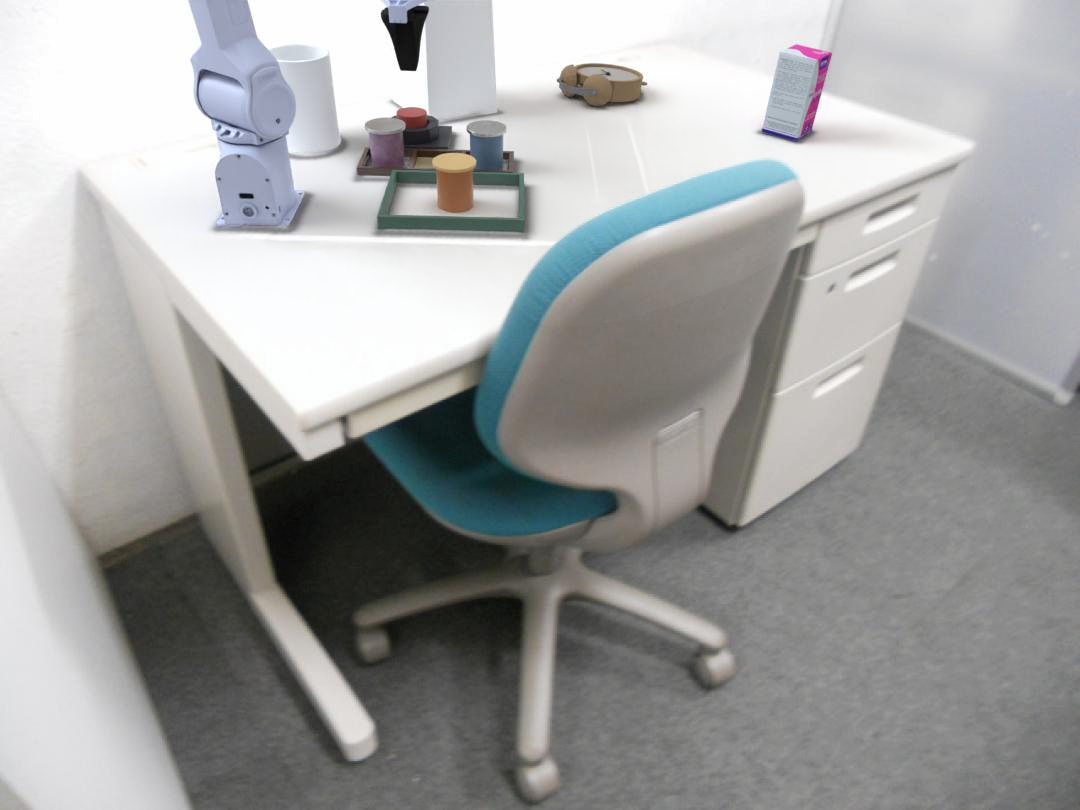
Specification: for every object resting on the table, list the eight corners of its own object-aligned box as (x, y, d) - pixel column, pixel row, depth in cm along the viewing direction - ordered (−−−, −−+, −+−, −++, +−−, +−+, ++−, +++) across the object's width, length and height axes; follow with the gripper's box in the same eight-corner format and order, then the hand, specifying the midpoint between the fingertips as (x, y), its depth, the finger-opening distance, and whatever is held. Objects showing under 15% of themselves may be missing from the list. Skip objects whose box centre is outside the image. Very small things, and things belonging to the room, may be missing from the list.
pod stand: (513, 183, 104) (513, 171, 103) (357, 179, 103) (356, 167, 102) (513, 162, 109) (513, 151, 108) (366, 158, 108) (364, 147, 107)
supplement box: (797, 142, 118) (817, 59, 111) (760, 132, 121) (776, 50, 114) (813, 132, 122) (833, 50, 115) (776, 122, 125) (793, 42, 117)
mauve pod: (405, 174, 104) (402, 132, 100) (366, 173, 103) (361, 130, 100) (410, 159, 108) (407, 117, 104) (371, 158, 107) (367, 116, 104)
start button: (428, 120, 112) (428, 107, 111) (425, 130, 109) (425, 117, 108) (399, 119, 112) (398, 106, 111) (395, 129, 109) (394, 116, 108)
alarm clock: (658, 77, 131) (595, 76, 121) (651, 109, 133) (589, 111, 123) (607, 60, 137) (543, 59, 127) (601, 91, 140) (538, 92, 130)
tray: (523, 236, 92) (524, 220, 91) (378, 233, 92) (377, 216, 90) (523, 188, 102) (524, 172, 101) (393, 184, 102) (392, 169, 101)
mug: (252, 137, 113) (235, 45, 105) (307, 123, 118) (294, 34, 110) (299, 162, 106) (284, 66, 99) (354, 147, 111) (344, 54, 104)
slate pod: (505, 176, 104) (506, 134, 101) (466, 175, 104) (465, 133, 101) (506, 161, 108) (506, 120, 105) (468, 160, 108) (467, 119, 104)
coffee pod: (475, 215, 95) (475, 170, 92) (432, 214, 95) (430, 169, 91) (477, 196, 99) (477, 153, 95) (436, 195, 99) (434, 152, 95)
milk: (392, 101, 126) (377, -95, 110) (458, 90, 132) (453, -99, 116) (429, 125, 119) (418, -82, 103) (497, 112, 124) (497, -87, 108)
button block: (452, 135, 116) (451, 112, 114) (448, 157, 110) (447, 133, 108) (381, 133, 115) (379, 110, 113) (372, 155, 109) (370, 131, 107)
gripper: (429, -36, 92) (435, 87, 101) (440, -59, 104) (444, 54, 112) (366, -39, 92) (377, 86, 100) (383, -61, 103) (392, 52, 112)
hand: (408, 69), depth 106 cm, fingers closed
